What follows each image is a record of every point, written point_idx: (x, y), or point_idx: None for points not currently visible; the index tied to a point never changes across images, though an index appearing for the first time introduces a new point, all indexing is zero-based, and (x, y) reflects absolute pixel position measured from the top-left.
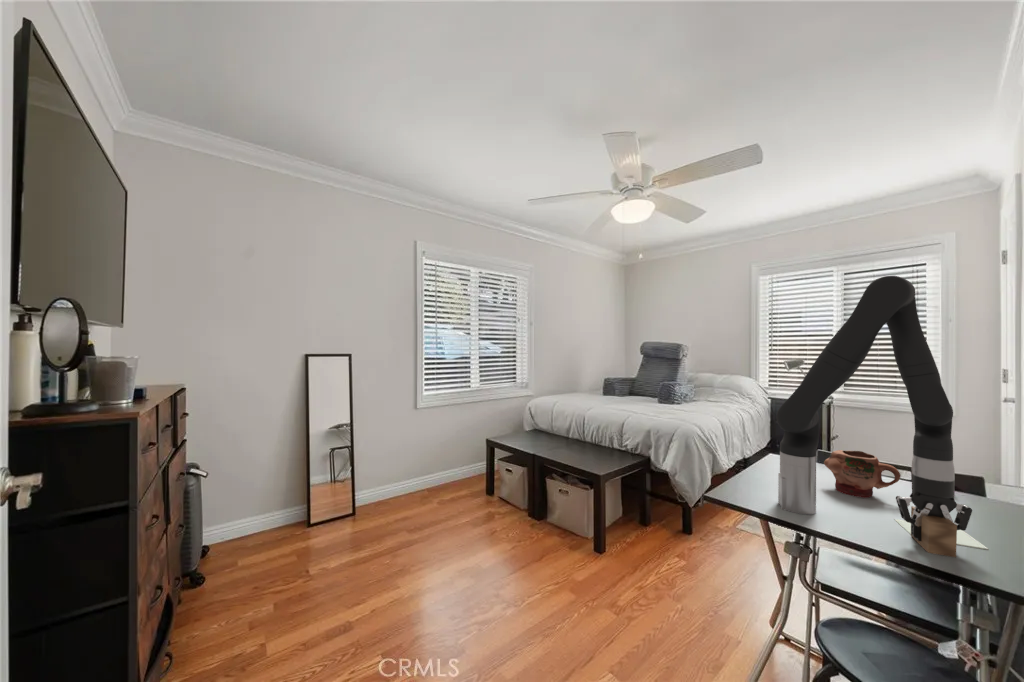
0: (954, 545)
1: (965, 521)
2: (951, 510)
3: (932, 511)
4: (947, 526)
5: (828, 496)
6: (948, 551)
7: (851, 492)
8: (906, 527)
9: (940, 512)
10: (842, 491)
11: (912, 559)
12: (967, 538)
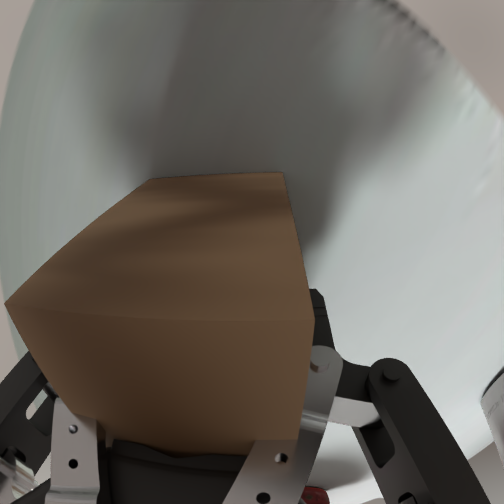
0: (124, 204)
1: (5, 393)
2: (39, 487)
3: (188, 499)
4: (87, 292)
5: (366, 472)
6: (173, 185)
7: (308, 494)
8: None
9: (119, 485)
10: (322, 492)
11: (410, 41)
12: None
